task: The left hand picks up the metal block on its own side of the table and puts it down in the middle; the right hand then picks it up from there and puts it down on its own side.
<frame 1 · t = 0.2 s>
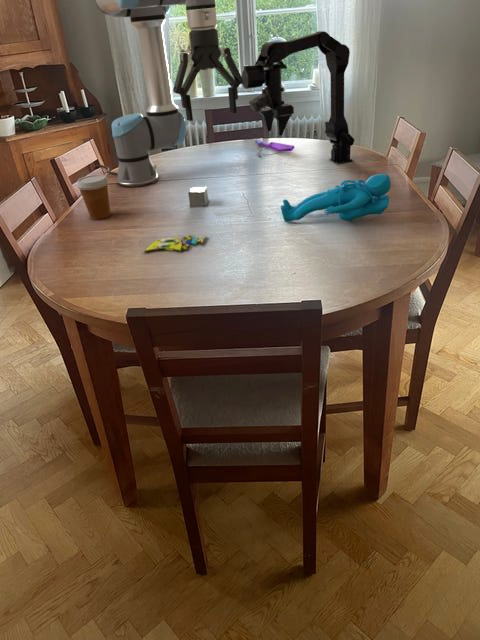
left hand: (212, 116, 136), 28 cm above the table, tool pointing down, fingers open, 13 cm apart
right hand: (274, 133, 170), 14 cm above the table, tool pointing down, fingers open, 9 cm apart
block: (199, 204, 157), on the table
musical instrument: (267, 150, 209), on the table
toy: (333, 219, 137), on the table
disposable coffee cup: (100, 216, 154), on the table
toy 2: (176, 245, 130), on the table
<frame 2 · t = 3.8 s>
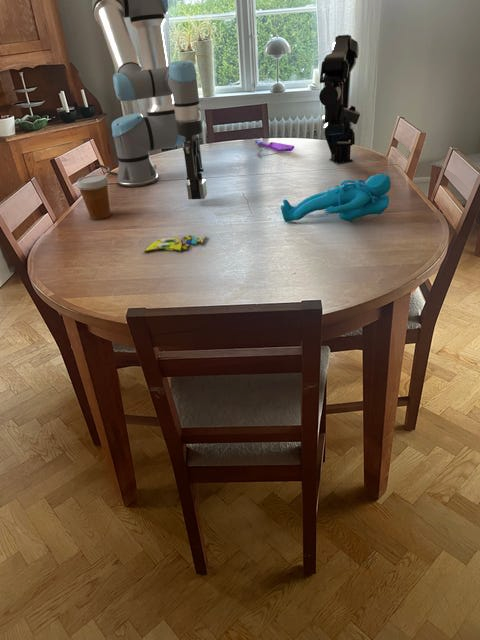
left hand: (197, 195, 156), 3 cm above the table, tool pointing down, fingers closed on block, 5 cm apart
right hand: (332, 150, 163), 10 cm above the table, tool pointing down, fingers open, 9 cm apart
block: (197, 196, 156), point 2 cm above the table, touching left hand
everything else where it was.
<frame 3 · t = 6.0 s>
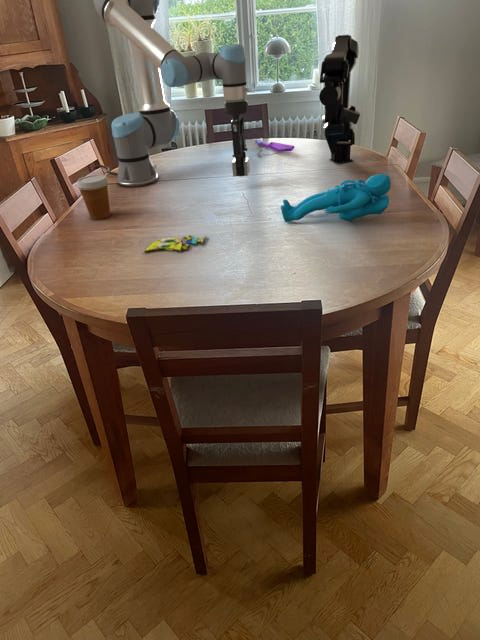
left hand: (241, 173, 165), 5 cm above the table, tool pointing down, fingers closed on block, 5 cm apart
right hand: (332, 150, 163), 10 cm above the table, tool pointing down, fingers open, 9 cm apart
block: (241, 174, 166), point 5 cm above the table, touching left hand
everything else where it was.
when the left hand's fingers open (1 cm above the table, at t = 8.7 s): block stays where it is, on the table.
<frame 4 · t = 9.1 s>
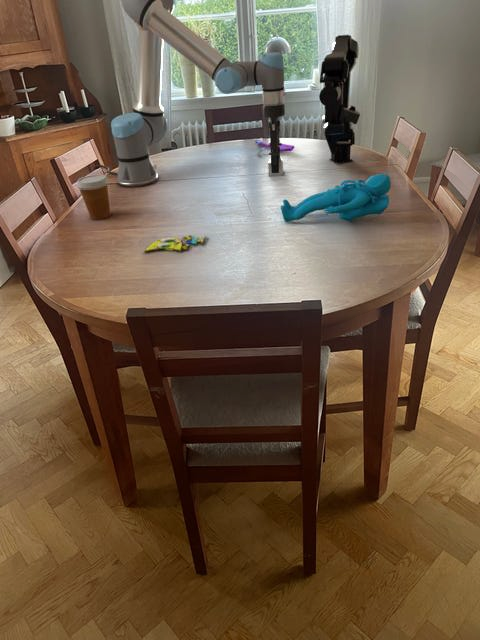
left hand: (276, 168, 178), 2 cm above the table, tool pointing down, fingers open, 10 cm apart
right hand: (332, 150, 163), 10 cm above the table, tool pointing down, fingers open, 9 cm apart
block: (276, 173, 179), on the table
everything else where it was.
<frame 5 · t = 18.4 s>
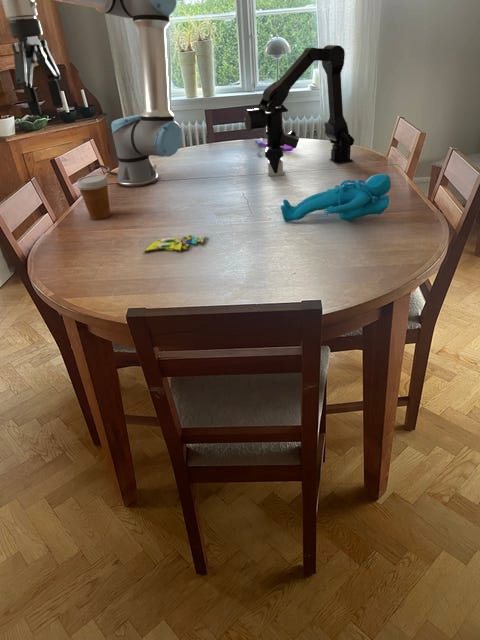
left hand: (48, 110, 131), 33 cm above the table, tool pointing down, fingers open, 13 cm apart
right hand: (276, 171, 178), 1 cm above the table, tool pointing down, fingers closed on block, 5 cm apart
block: (276, 173, 179), on the table, touching right hand
everything else where it was.
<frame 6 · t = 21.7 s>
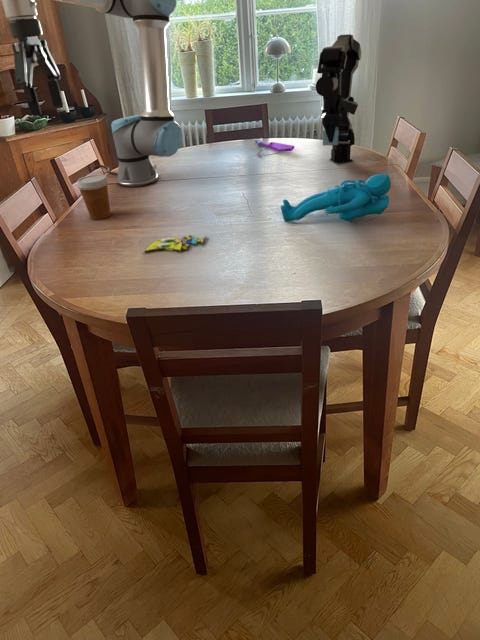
left hand: (48, 110, 131), 33 cm above the table, tool pointing down, fingers open, 13 cm apart
right hand: (330, 140, 166), 12 cm above the table, tool pointing down, fingers closed on block, 5 cm apart
block: (330, 143, 166), point 11 cm above the table, touching right hand
everything else where it was.
when the right hand's fingers open (2 cm above the table, at t = 25.4 s): block stays where it is, on the table.
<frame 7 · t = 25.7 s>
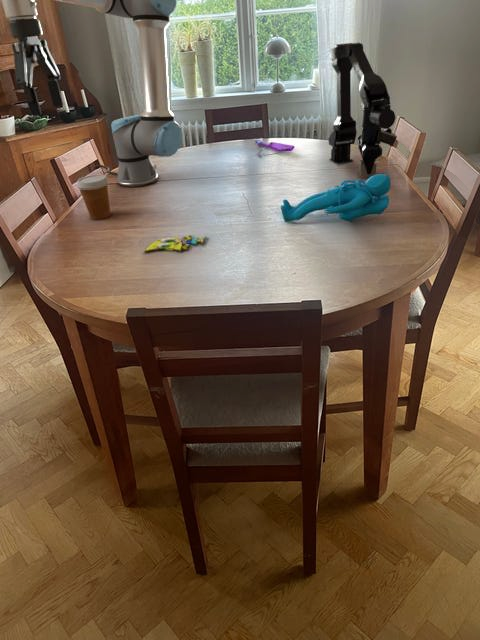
left hand: (48, 110, 131), 33 cm above the table, tool pointing down, fingers open, 13 cm apart
right hand: (367, 170, 167), 2 cm above the table, tool pointing down, fingers open, 8 cm apart
block: (367, 175, 168), on the table
everything else where it was.
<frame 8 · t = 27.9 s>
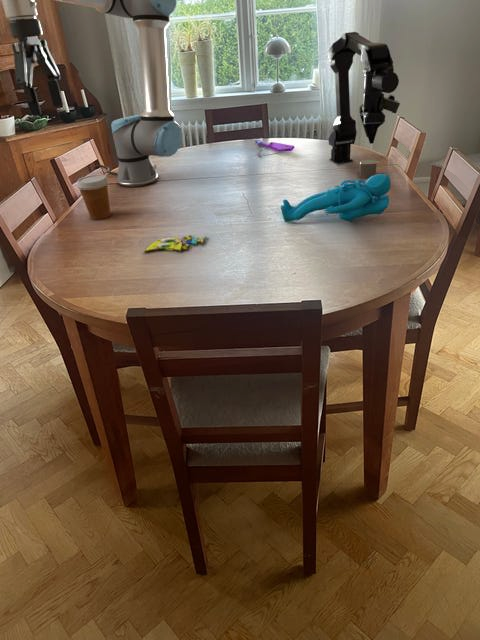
left hand: (48, 110, 131), 33 cm above the table, tool pointing down, fingers open, 13 cm apart
right hand: (369, 140, 162), 12 cm above the table, tool pointing down, fingers open, 9 cm apart
nothing on the table moved.
at the end: block inside the target area (0.1 cm from its centre), on the table; block tilted 0°; the two hands never held the block at the same time; the left hand is holding nothing; the right hand is holding nothing; block at rest at the end (0.0 cm/s) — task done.
